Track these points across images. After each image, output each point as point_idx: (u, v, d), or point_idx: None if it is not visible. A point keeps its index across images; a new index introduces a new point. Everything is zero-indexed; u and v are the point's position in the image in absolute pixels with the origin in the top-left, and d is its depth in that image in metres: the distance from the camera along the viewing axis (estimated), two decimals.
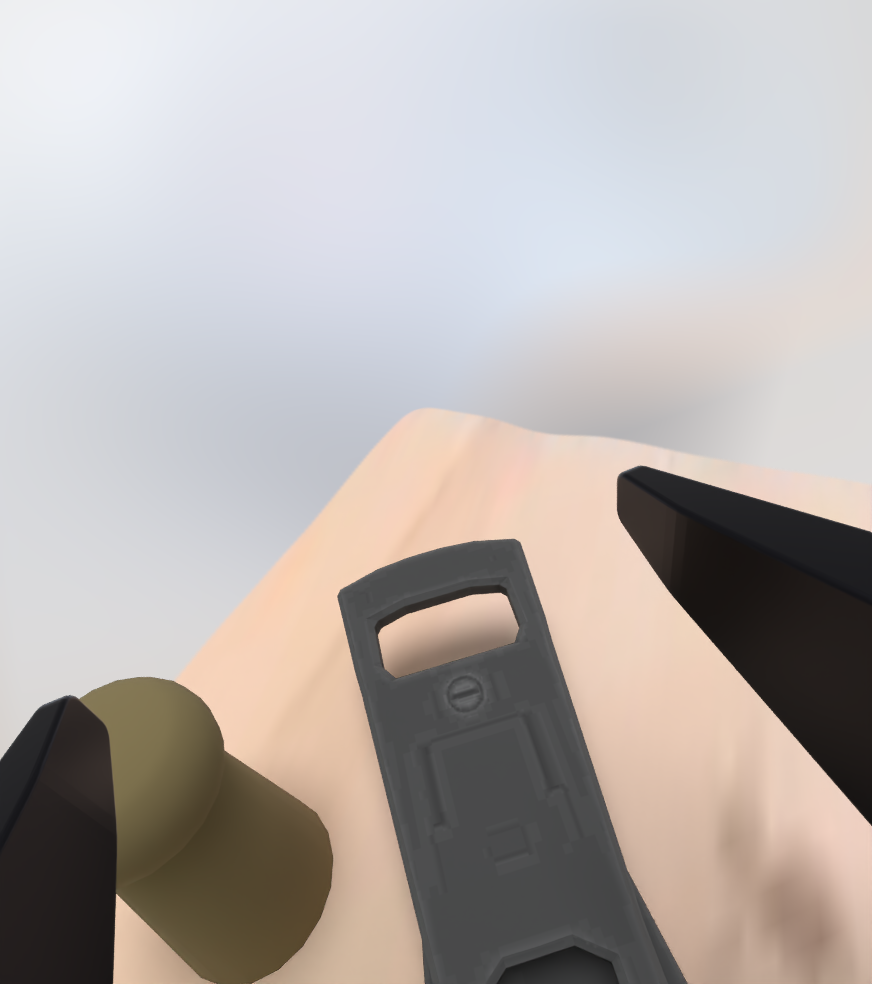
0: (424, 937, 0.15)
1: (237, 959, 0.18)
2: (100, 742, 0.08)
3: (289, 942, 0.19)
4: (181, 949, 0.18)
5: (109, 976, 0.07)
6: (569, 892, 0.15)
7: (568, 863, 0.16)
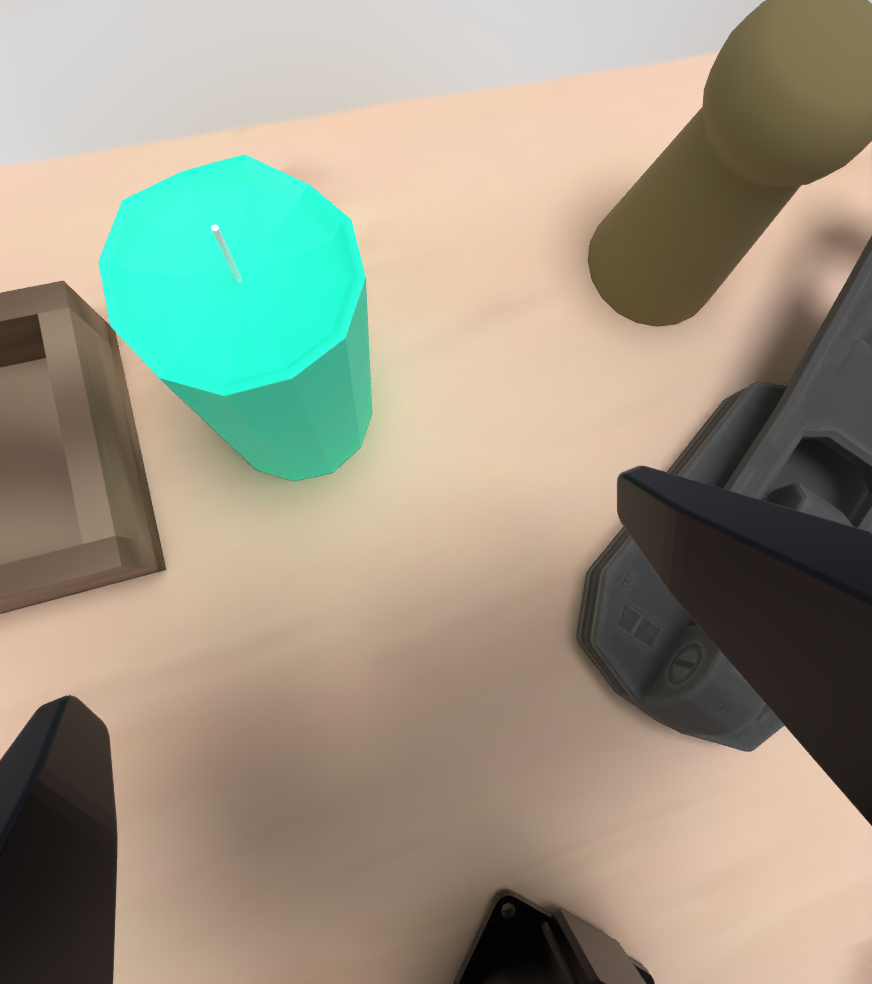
0: (803, 380, 0.21)
1: (642, 291, 0.24)
2: (100, 742, 0.08)
3: (661, 315, 0.25)
4: (633, 250, 0.23)
5: (108, 976, 0.07)
6: None
7: None
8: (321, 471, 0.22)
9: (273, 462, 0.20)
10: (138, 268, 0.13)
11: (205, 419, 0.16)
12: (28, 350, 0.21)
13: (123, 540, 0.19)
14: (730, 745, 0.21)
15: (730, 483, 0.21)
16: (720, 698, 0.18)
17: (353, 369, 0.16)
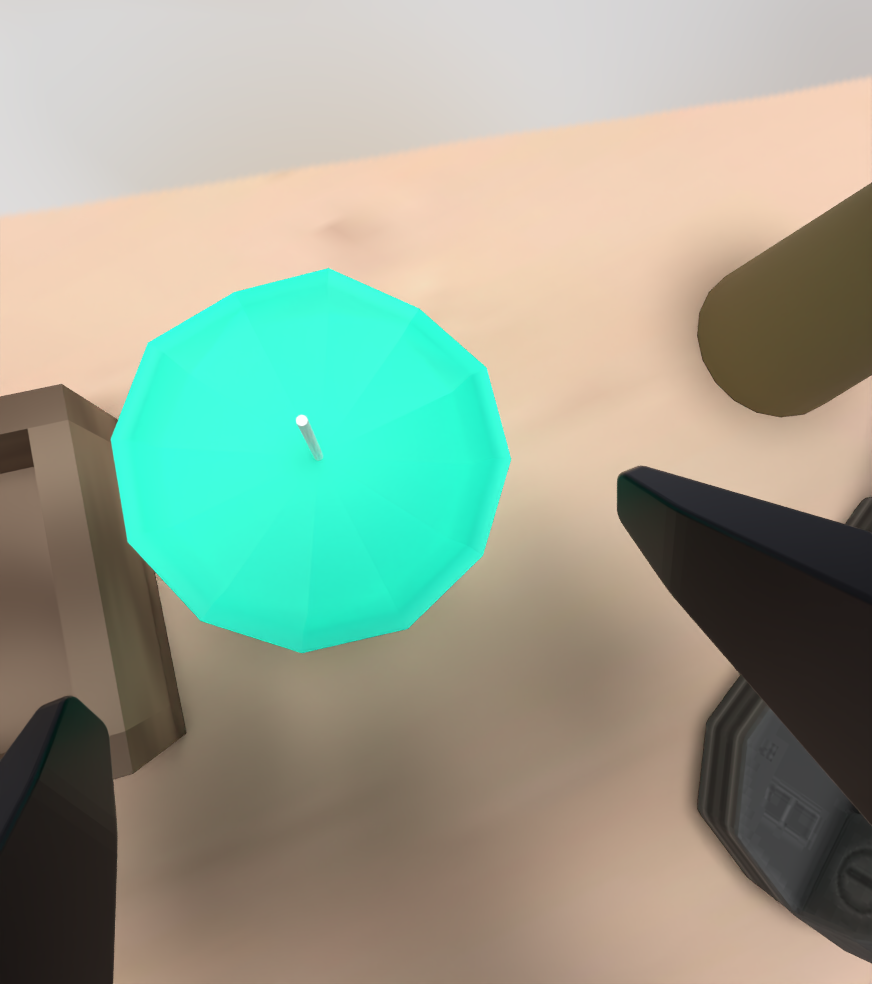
0: None
1: (774, 382, 0.19)
2: (100, 742, 0.08)
3: (790, 407, 0.20)
4: (771, 336, 0.18)
5: (108, 975, 0.07)
6: None
7: None
8: None
9: None
10: (170, 442, 0.09)
11: None
12: (16, 460, 0.17)
13: (135, 730, 0.14)
14: None
15: None
16: None
17: None
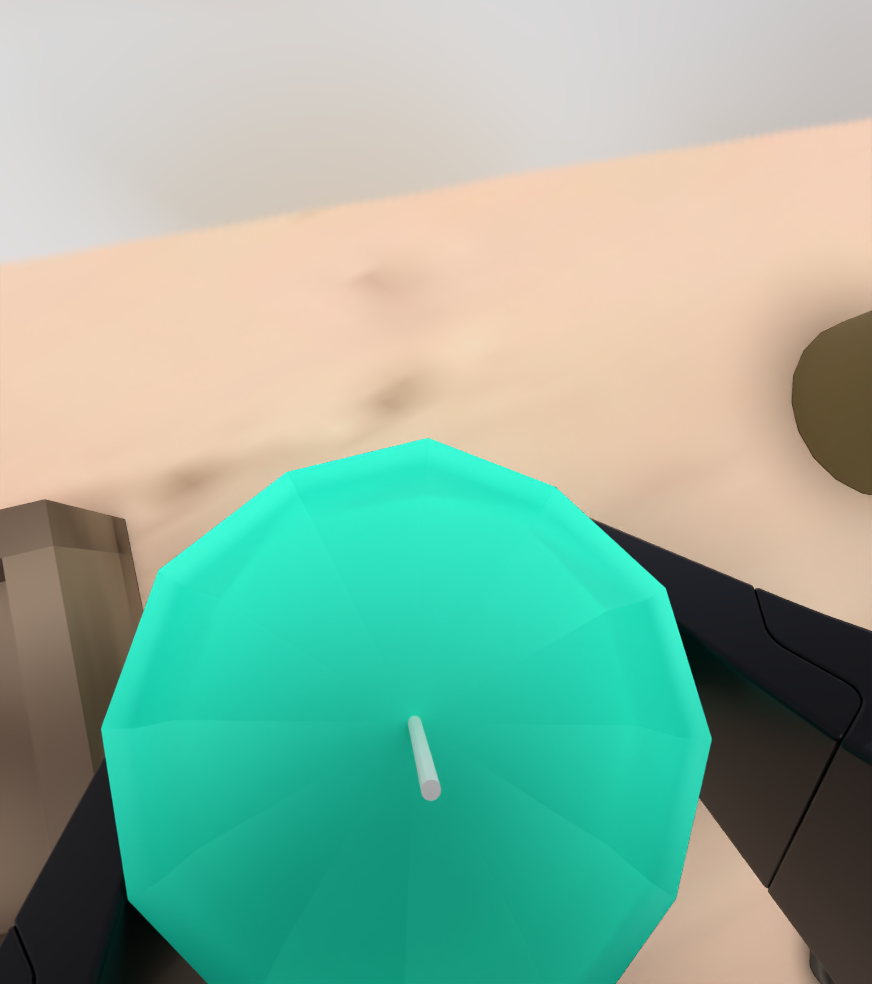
0: None
1: None
2: None
3: None
4: None
5: None
6: None
7: None
8: None
9: None
10: (192, 712, 0.06)
11: None
12: None
13: None
14: None
15: None
16: None
17: None
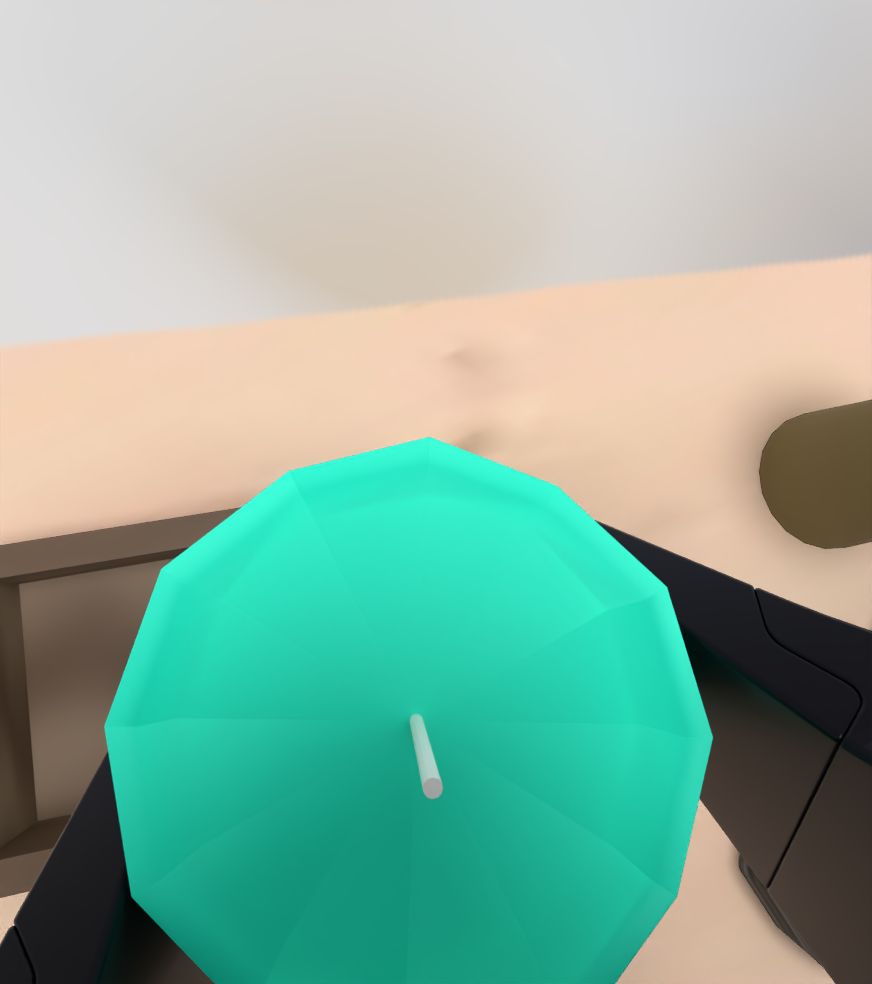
0: None
1: (825, 526, 0.23)
2: None
3: (835, 544, 0.24)
4: (827, 493, 0.22)
5: None
6: None
7: None
8: None
9: None
10: (195, 710, 0.06)
11: None
12: None
13: None
14: None
15: None
16: None
17: None
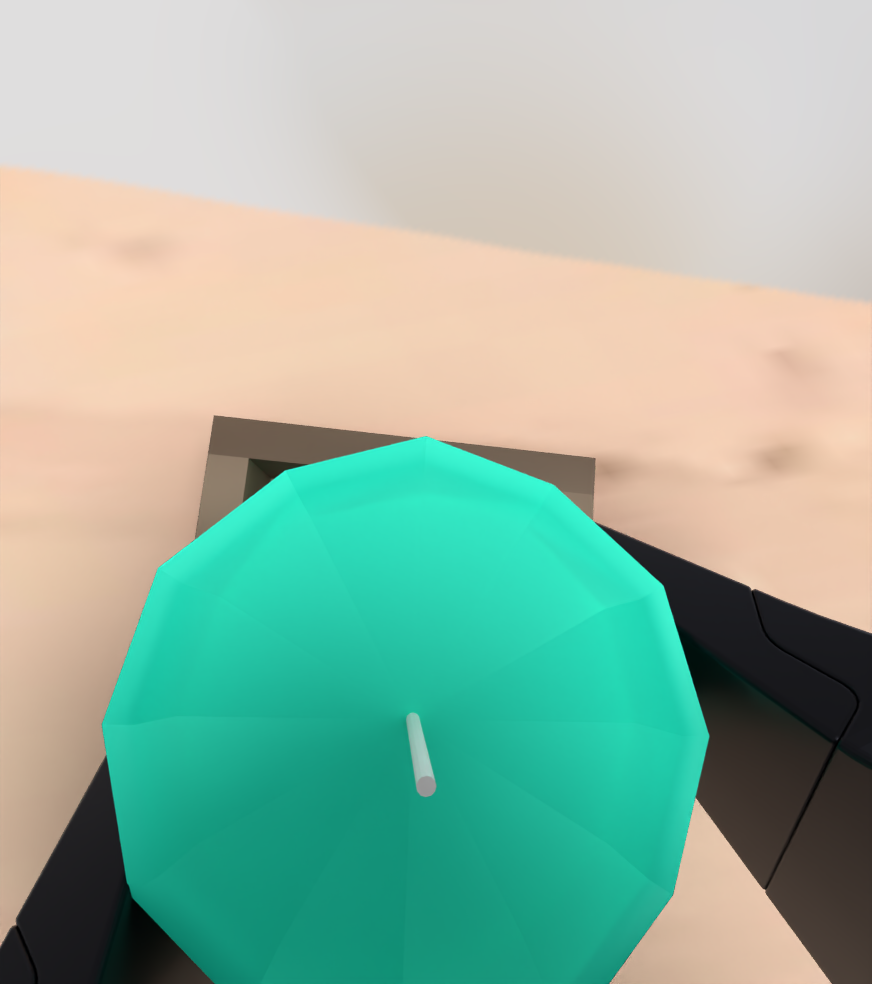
0: None
1: None
2: None
3: None
4: None
5: None
6: None
7: None
8: None
9: None
10: (192, 709, 0.06)
11: None
12: None
13: None
14: None
15: None
16: None
17: None
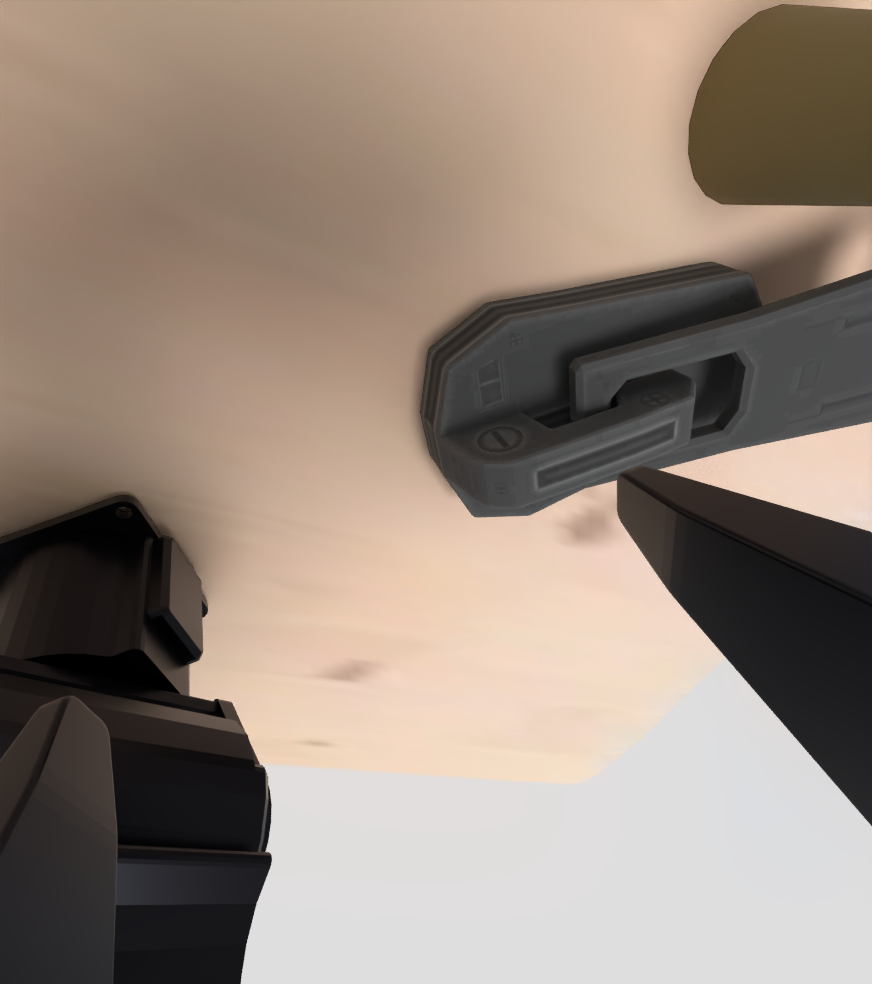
0: (786, 311, 0.20)
1: (730, 133, 0.19)
2: (100, 742, 0.08)
3: (709, 173, 0.21)
4: (778, 82, 0.17)
5: (108, 976, 0.07)
6: (765, 412, 0.22)
7: (779, 413, 0.23)
8: None
9: None
10: None
11: None
12: None
13: None
14: (467, 505, 0.23)
15: (660, 339, 0.20)
16: (505, 482, 0.19)
17: None
